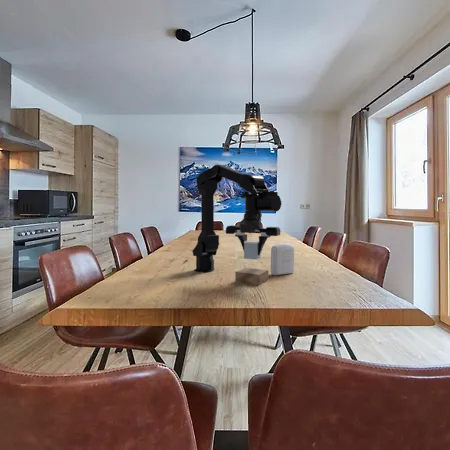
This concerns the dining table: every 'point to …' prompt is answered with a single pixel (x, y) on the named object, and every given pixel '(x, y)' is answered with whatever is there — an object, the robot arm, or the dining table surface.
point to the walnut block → (251, 276)
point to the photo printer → (282, 259)
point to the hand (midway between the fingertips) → (252, 254)
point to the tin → (251, 249)
